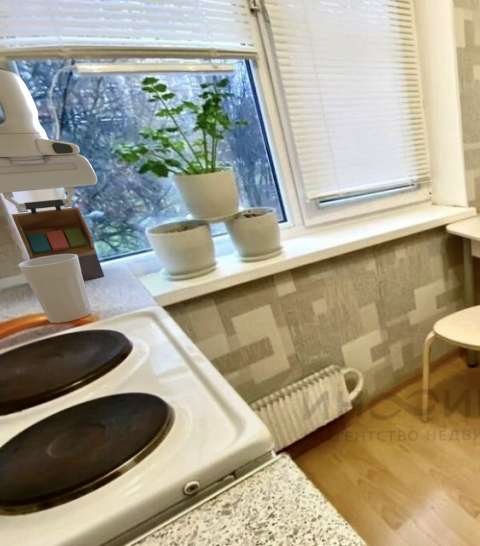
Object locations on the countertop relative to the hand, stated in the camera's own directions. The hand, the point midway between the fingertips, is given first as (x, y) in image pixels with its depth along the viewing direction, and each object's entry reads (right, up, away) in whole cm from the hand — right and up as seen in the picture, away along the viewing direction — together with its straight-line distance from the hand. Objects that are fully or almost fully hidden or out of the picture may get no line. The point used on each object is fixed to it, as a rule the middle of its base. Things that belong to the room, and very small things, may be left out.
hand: (46, 209), depth 97 cm
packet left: (-5, -8, +2) cm, 10 cm away
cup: (+18, -24, -12) cm, 32 cm away
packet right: (-1, -6, +7) cm, 10 cm away
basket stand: (-4, -16, +9) cm, 19 cm away
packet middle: (-3, -7, +5) cm, 9 cm away
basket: (-3, -7, +5) cm, 10 cm away
